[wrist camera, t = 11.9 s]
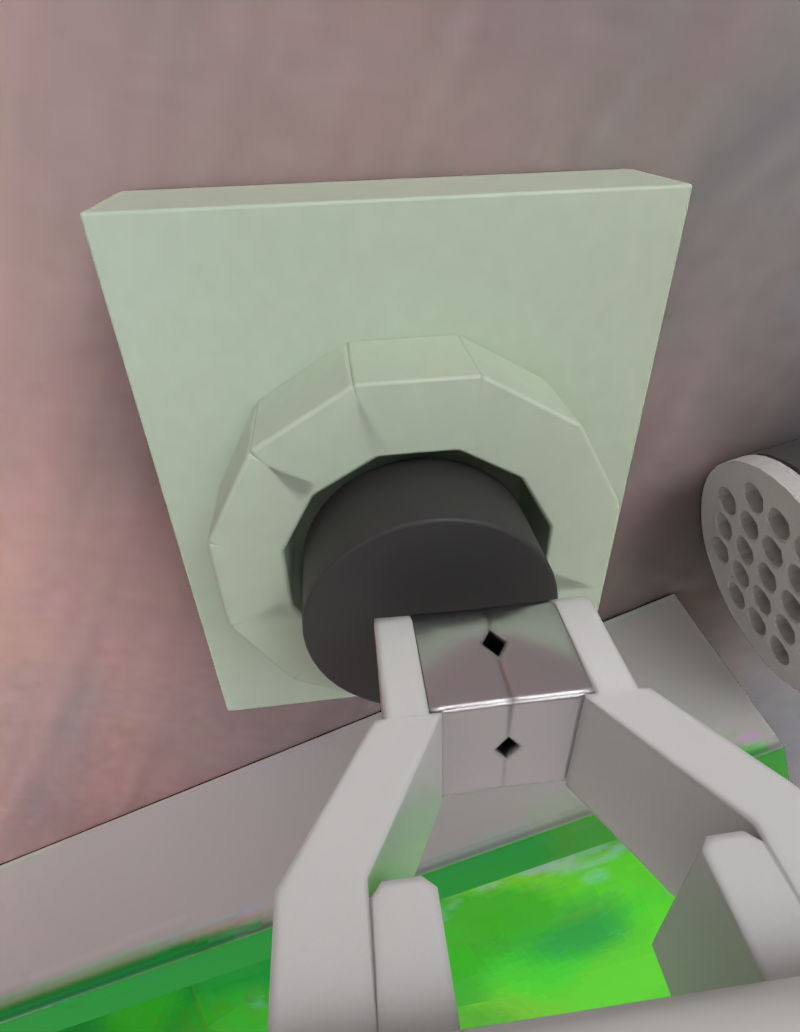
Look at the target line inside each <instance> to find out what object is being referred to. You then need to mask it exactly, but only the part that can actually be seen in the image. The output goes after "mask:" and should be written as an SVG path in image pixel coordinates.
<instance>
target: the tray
mask: <svg viewBox="0 0 800 1032" xmlns="http://www.w3.org/2000/svg"><path fill="white" fill-rule="evenodd" d="M603 624H604V626H605V627H606V629H607V631H608V633H609V635H610V637H611V638H612V640H613V642H614V644H615V646H616V648H617V650H618V651H619V653H620V655H621V657H622V659H623V661H624V662H625V664H626V666H627V668H628V670H629V672H630V674H631V675H632V677H633V679H634V681H635V683H636V685H637V686H638V688H648V687H650V688H651V689H653V690H654V691H656V692H657V693H659V694H660V695H662V696H663V697H665V698H666V699H668V700H669V701H671V702H672V703H674V704H675V705H677V706H678V707H680V708H681V709H683V710H684V711H686V712H687V713H689V714H690V715H692V716H693V717H695V718H696V719H698V720H699V721H701V722H702V723H704V724H705V725H707V726H708V727H709V728H711V729H712V730H714V731H715V732H717V733H718V734H720V735H721V736H723V737H724V738H726V739H727V740H729V741H730V742H732V743H733V744H735V745H736V746H738V747H739V748H741V749H742V750H744V751H745V752H747V753H748V754H750V755H751V756H753V757H754V758H756V759H757V760H759V761H760V762H762V763H763V764H765V765H766V766H768V767H769V768H771V769H772V770H773V771H775V772H776V773H778V774H779V775H781V776H782V777H784V778H785V779H787V780H788V781H789V778H788V771H787V763H786V756H785V749H784V746H783V745H782V743H781V742H780V740H779V739H778V738H777V736H776V735H775V734H774V732H773V731H772V729H771V728H770V727H769V725H768V724H767V722H766V721H765V720H764V718H763V717H762V715H761V714H760V713H759V711H758V710H757V708H756V707H755V706H754V704H753V703H752V701H751V700H750V699H749V697H748V696H747V695H746V693H745V692H744V690H743V689H742V688H741V686H740V685H739V683H738V682H737V681H736V679H735V678H734V676H733V675H732V674H731V672H730V671H729V669H728V668H727V667H726V665H725V664H724V662H723V661H722V660H721V658H720V657H719V655H718V654H717V653H716V651H715V650H714V649H713V647H712V646H711V644H710V643H709V642H708V640H707V639H706V637H705V636H704V635H703V633H702V632H701V630H700V629H699V628H698V626H697V625H696V623H695V622H694V621H693V619H692V618H691V616H690V615H689V614H688V612H687V611H686V610H685V608H684V607H683V605H682V604H681V603H680V601H679V600H678V598H677V597H676V596H675V594H672V595H669V596H667V597H664V598H662V599H660V600H657V601H655V602H652V603H650V604H647V605H645V606H642V607H640V608H637V609H635V610H632V611H630V612H627V613H625V614H622V615H620V616H617V617H615V618H612V619H610V620H607V621H605V622H603ZM381 719H382V712H379V713H377V714H375V715H372V716H370V717H367V718H365V719H362V720H360V721H357V722H355V723H352V724H350V725H347V726H345V727H342V728H340V729H337V730H335V731H332V732H330V733H327V734H325V735H323V736H320V737H318V738H315V739H313V740H310V741H308V742H305V743H303V744H300V745H298V746H295V747H293V748H290V749H288V750H285V751H283V752H280V753H278V754H275V755H273V756H270V757H268V758H266V759H263V760H261V761H258V762H256V763H253V764H251V765H248V766H246V767H243V768H241V769H238V770H236V771H233V772H231V773H228V774H226V775H223V776H221V777H218V778H216V779H213V780H211V781H209V782H206V783H204V784H201V785H199V786H196V787H194V788H191V789H189V790H186V791H184V792H181V793H179V794H176V795H174V796H171V797H169V798H166V799H164V800H161V801H159V802H156V803H154V804H152V805H149V806H147V807H144V808H142V809H139V810H137V811H134V812H132V813H129V814H127V815H124V816H122V817H119V818H117V819H114V820H112V821H109V822H107V823H104V824H102V825H99V826H97V827H95V828H92V829H90V830H87V831H85V832H82V833H80V834H77V835H75V836H72V837H70V838H67V839H65V840H62V841H60V842H57V843H55V844H52V845H50V846H47V847H45V848H42V849H40V850H38V851H35V852H33V853H30V854H28V855H25V856H23V857H20V858H18V859H15V860H13V861H10V862H8V863H5V864H3V865H0V1032H267V1027H268V1008H269V989H270V970H271V951H272V932H273V913H274V895H275V890H276V889H277V887H278V885H279V883H280V882H281V880H282V878H283V876H284V875H285V873H286V871H287V869H288V868H289V866H290V864H291V862H292V861H293V859H294V857H295V856H296V854H297V852H298V850H299V849H300V847H301V845H302V843H303V842H304V840H305V838H306V836H307V835H308V833H309V831H310V829H311V828H312V826H313V824H314V822H315V821H316V819H317V817H318V816H319V814H320V812H321V810H322V809H323V807H324V805H325V803H326V802H327V800H328V798H329V796H330V795H331V793H332V791H333V789H334V788H335V786H336V784H337V783H338V781H339V779H340V777H341V776H342V774H343V772H344V770H345V769H346V767H347V765H348V763H349V762H350V760H351V758H352V756H353V755H354V753H355V751H356V750H357V748H358V746H359V744H360V743H361V741H362V739H363V737H364V736H365V734H366V732H367V730H368V729H369V727H370V725H371V723H372V722H373V721H374V720H381ZM565 782H566V781H561V782H552V783H542V784H532V785H522V786H513V787H503V788H496V789H490V790H484V791H478V792H471V793H465V794H459V795H453V796H446V797H442V803H441V806H440V808H439V811H438V814H437V816H436V819H435V822H434V824H433V827H432V830H431V833H430V835H429V838H428V841H427V843H426V846H425V849H424V851H423V854H422V857H421V860H420V862H419V865H418V868H417V870H416V873H415V876H423V877H424V878H425V879H427V880H428V881H430V882H431V883H432V884H434V885H435V886H437V888H438V894H439V900H440V906H441V912H442V919H443V925H444V931H445V937H446V943H447V949H448V955H449V961H450V968H451V974H452V980H453V986H454V992H455V998H456V1004H457V1011H458V1017H459V1023H460V1029H461V1030H463V1029H469V1028H475V1027H482V1026H488V1025H494V1024H501V1023H507V1022H513V1021H519V1020H526V1019H532V1018H538V1017H544V1016H551V1015H557V1014H563V1013H570V1012H576V1011H582V1010H588V1009H595V1008H601V1007H607V1006H613V1005H620V1004H626V1003H632V1002H639V1001H645V1000H651V999H657V998H664V997H670V996H671V994H670V991H669V989H668V986H667V984H666V981H665V978H664V976H663V973H662V970H661V968H660V965H659V963H658V960H657V957H656V955H655V952H654V949H653V947H652V943H653V941H654V939H655V937H656V934H657V932H658V930H659V928H660V926H661V924H662V922H663V921H664V919H665V917H666V915H667V913H668V911H669V909H670V907H671V905H672V903H673V901H674V899H675V897H674V896H673V895H672V894H671V893H670V892H669V891H668V890H667V889H666V888H665V887H664V886H663V885H662V884H661V883H660V882H659V881H658V880H657V879H656V878H655V877H654V875H653V874H652V873H651V872H650V871H649V870H648V869H647V868H646V867H645V866H644V865H643V864H642V863H641V862H640V861H639V860H638V859H637V858H636V857H635V856H634V855H633V854H632V853H631V852H630V851H629V850H628V849H627V848H626V847H625V846H624V845H623V844H622V843H621V842H620V840H619V839H618V838H617V837H616V836H615V835H614V834H613V833H612V832H611V831H610V830H609V829H608V828H607V827H606V826H605V825H604V824H603V823H602V822H601V821H600V820H599V819H598V818H597V817H596V816H595V815H594V814H593V813H592V812H591V811H590V810H589V809H588V808H587V807H586V806H585V804H584V803H583V802H582V801H581V800H580V799H579V798H578V797H577V796H576V795H575V794H574V793H573V792H572V791H571V790H570V789H569V788H568V787H567V786H566V785H565ZM415 876H414V877H415Z"/></svg>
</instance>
